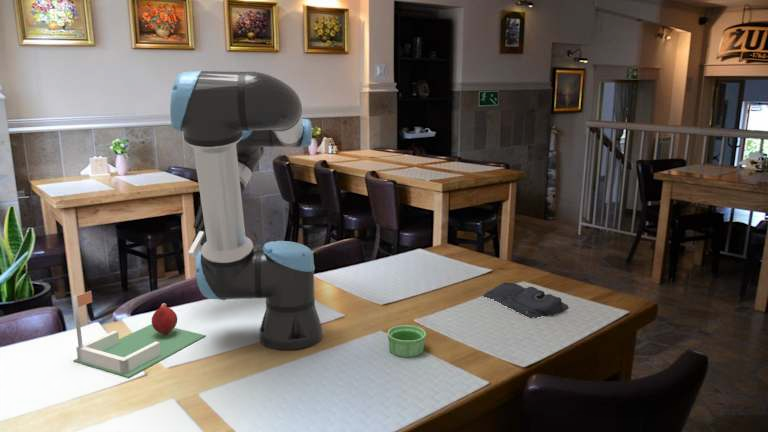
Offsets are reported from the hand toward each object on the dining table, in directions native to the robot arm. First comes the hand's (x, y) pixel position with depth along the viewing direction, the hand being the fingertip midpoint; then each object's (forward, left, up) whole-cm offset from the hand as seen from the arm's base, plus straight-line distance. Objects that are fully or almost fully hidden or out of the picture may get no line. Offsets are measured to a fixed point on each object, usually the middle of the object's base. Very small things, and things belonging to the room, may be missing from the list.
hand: (193, 255), depth 147 cm
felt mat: (-1, +19, -18) cm, 26 cm away
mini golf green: (0, +25, -18) cm, 30 cm away
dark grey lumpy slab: (-75, -51, -18) cm, 92 cm away
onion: (0, +11, -17) cm, 21 cm away
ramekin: (-56, -8, -18) cm, 59 cm away
